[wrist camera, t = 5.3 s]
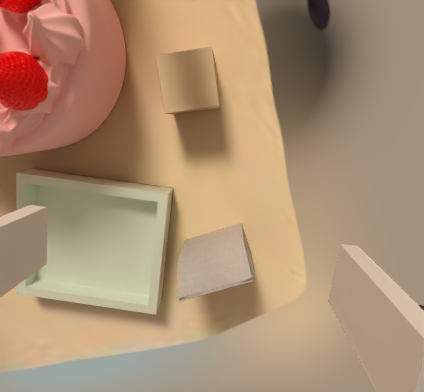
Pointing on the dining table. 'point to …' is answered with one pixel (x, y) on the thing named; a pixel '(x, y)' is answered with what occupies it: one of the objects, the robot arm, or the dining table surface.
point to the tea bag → (214, 262)
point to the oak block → (188, 81)
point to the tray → (99, 239)
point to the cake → (57, 71)
